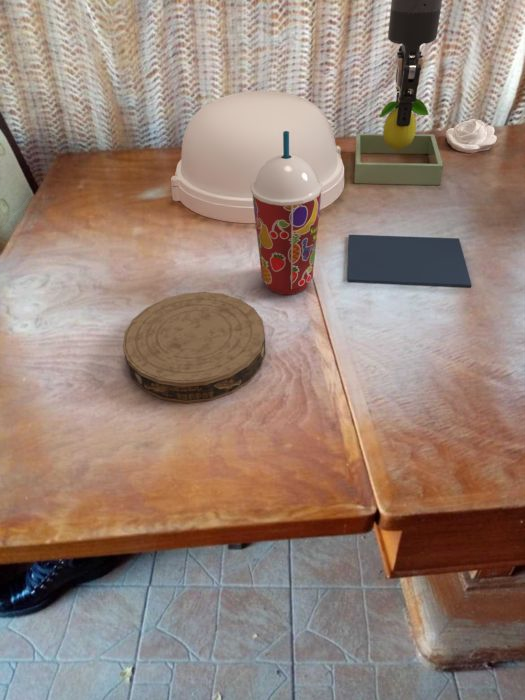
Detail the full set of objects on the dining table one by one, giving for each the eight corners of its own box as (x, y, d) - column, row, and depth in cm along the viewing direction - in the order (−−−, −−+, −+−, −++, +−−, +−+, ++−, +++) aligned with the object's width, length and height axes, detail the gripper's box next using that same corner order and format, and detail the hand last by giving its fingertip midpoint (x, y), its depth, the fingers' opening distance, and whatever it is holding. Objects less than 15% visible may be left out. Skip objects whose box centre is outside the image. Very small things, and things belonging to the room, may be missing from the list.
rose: (509, 118, 104) (489, 133, 98) (503, 141, 106) (483, 157, 101) (460, 109, 109) (438, 123, 103) (455, 131, 111) (434, 146, 106)
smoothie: (327, 294, 70) (336, 139, 57) (266, 306, 69) (260, 151, 55) (305, 261, 76) (308, 115, 63) (249, 272, 75) (239, 124, 61)
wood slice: (196, 296, 71) (193, 277, 69) (293, 344, 63) (293, 324, 61) (99, 361, 62) (92, 342, 60) (197, 426, 54) (194, 406, 52)
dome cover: (307, 140, 111) (308, 65, 101) (381, 200, 89) (391, 112, 80) (154, 167, 103) (141, 89, 94) (195, 240, 82) (183, 148, 72)
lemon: (422, 154, 95) (431, 94, 89) (393, 160, 94) (400, 99, 87) (402, 141, 100) (410, 83, 93) (374, 147, 99) (379, 88, 92)
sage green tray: (431, 152, 104) (434, 134, 101) (439, 185, 93) (443, 165, 91) (354, 151, 106) (356, 133, 103) (354, 183, 95) (355, 164, 92)
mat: (458, 240, 79) (459, 238, 79) (471, 287, 70) (471, 284, 70) (348, 236, 81) (348, 234, 81) (347, 281, 72) (347, 279, 72)
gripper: (446, 13, 77) (427, 135, 88) (436, -4, 87) (420, 106, 98) (393, 15, 78) (381, 135, 89) (389, -2, 88) (378, 107, 99)
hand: (401, 119), depth 94 cm, fingers closed on lemon, 4 cm apart
